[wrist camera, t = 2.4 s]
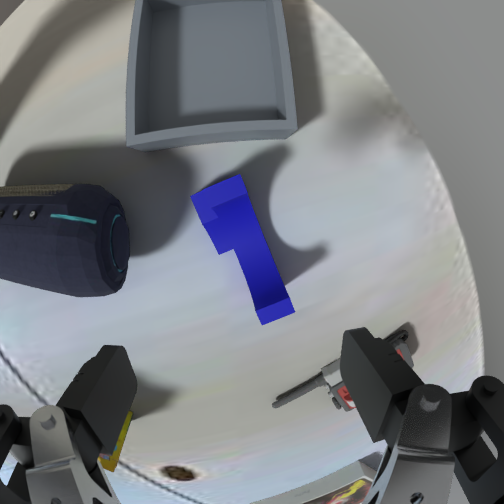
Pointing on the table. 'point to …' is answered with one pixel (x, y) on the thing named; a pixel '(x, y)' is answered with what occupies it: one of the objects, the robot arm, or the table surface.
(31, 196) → the portable speaker
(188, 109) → the bin
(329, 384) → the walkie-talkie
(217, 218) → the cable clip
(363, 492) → the product packaging
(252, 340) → the table surface
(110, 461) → the crayon box
